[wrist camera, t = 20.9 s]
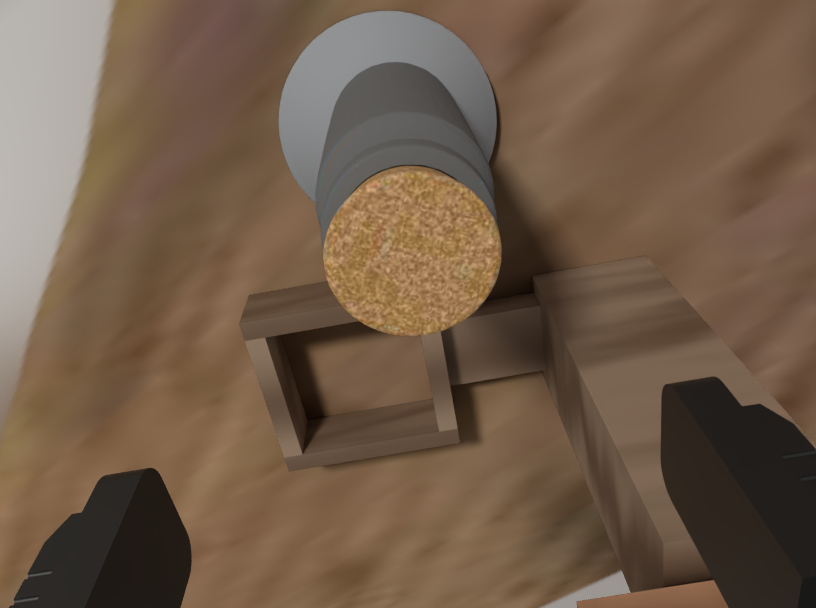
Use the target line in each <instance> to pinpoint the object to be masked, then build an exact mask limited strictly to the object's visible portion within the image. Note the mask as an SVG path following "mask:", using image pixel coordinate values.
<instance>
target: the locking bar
mask: <svg viewBox="0 0 816 608" xmlns="http://www.w3.org/2000/svg"><path fill="white" fill-rule="evenodd" d="M577 608H729V607H728V606H727V604H726V602H725V600H724V598H723V596H722V594H721V593H720V591H719V589H718V587H717V585H716V583H715V581H714V580H711V581H704V582H698V583H692V584H685V585H679V586H672V587H666V588H660V589H653V590H647V591H640V592H634V593H628V594H621V595H615V596H609V597H602V598H596V599H590V600H583V601H577Z"/></svg>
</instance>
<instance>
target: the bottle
mask: <svg viewBox="0 0 816 608" xmlns="http://www.w3.org/2000/svg"><path fill="white" fill-rule="evenodd" d="M494 195H495V194H494V184H493V178H492V173H491V169H490V167H489V164H488V162H487V159H486V157H485V155H484V153H483V151H482V149H481V147H480V145H479V143H478V141H477V139H476V138H475V136H474V134H473V132H472V130H471V129H470V127H469V125H468V123H467V122H466V120H465V118H464V116H463V115H462V113H461V111H460V109H459V108H458V106H457V104H456V102H455V101H454V99H453V97H452V96H451V94H450V93H449V91H448V90H447V88H446V87H445V86H444V85H443V83H442V82H441V81H440V80H439V79H438V78H437V77H435V76H434V75H433V74H431V73H430V72H429V71H427V70H425V69H423V68H421V67H418V66H415V65H412V64H409V63H404V62H385V63H382V64H378V65H374V66H371V67H369V68H367V69H365V70H363V71H362V72H360V73H359V74H357V75H356V76H355V77H354V78H353V79H352V80H351V81H350V82H349V83H348V84H347V85H346V86H345V87H344V89H343V90H342V92H341V93H340V95H339V97H338V99H337V101H336V103H335V106H334V109H333V112H332V116H331V120H330V124H329V128H328V132H327V136H326V140H325V144H324V149H323V153H322V158H321V163H320V167H319V172H318V177H317V184H316V191H315V197H316V211H317V216H318V221H319V224H320V227H321V239H322V246H323V249H324V252H323V260H324V267H325V274H326V278H327V281H328V284H329V286H330V288H331V290H332V292H333V294H334V295H335V297H336V299H337V300H338V301H339V303H340V304H341V305H342V306H343V308H344V309H345V310H346V311H347V312H348V313H350V314H351V315H352V316H353V317H354V318H356V319H357V320H359V321H360V322H362V323H363V324H365V325H367V326H369V327H371V328H373V329H375V330H378V331H381V332H384V333H387V334H392V335H399V336H422V335H428V334H433V333H437V332H440V331H443V330H446V329H449V328H451V327H452V326H454V325H456V324H458V323H460V322H462V321H463V320H465V319H466V318H467V317H469V316H470V315H471V314H473V313H474V312H475V311H476V310H477V309H478V308H479V307H480V306H481V305H482V303H483V302H484V301H485V300H486V298H487V297H488V295H489V294H490V292H491V291H492V289H493V287H494V285H495V283H496V280H497V278H498V275H499V271H500V266H501V254H502V244H501V237H500V233H499V229H498V226H497V225H498V220H497V214H496V207H495V204H494Z"/></svg>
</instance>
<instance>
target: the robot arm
mask: <svg viewBox="0 0 816 608" xmlns="http://www.w3.org/2000/svg"><path fill="white" fill-rule="evenodd" d="M661 469H662V475H663V479H664V483H665V486H666V489H667V492H668V494H669V497H670V499H671V501H672V503H673V505H674V507H675V509H676V511H677V512H678V514H679V516H680V518H681V520H682V522H683V524H684V525H685V527H686V529H687V531H688V533H689V535H690V537H691V538H692V540H693V542H694V544H695V546H696V548H697V550H698V552H699V553H700V555H701V557H702V559H703V561H704V563H705V565H706V566H707V568H708V570H709V572H710V574H711V576H712V578H713V580H714V581H715V583H716V585H717V587H718V589H719V591H720V593H721V594H722V596H723V598H724V600H725V602H726V604H727V606H728V607H729V608H816V449H815V447H814V446H813V445H812V444H811V443H810V442H809V441H808V440H807V438H806V437H805V436H804V435H803V434H802V433H801V432H800V430H799V429H798V428H797V427H796V426H795V425H794V424H793V423H792V422H790V421H789V420H787V419H785V418H784V417H782V416H780V415H778V414H777V413H775V412H773V411H772V410H770V409H768V408H767V407H765V406H763V405H762V404H754V405H748V406H741V404H740V403H739V402H738V401H737V399H736V398H735V397H734V396H733V394H732V393H731V392H730V391H729V389H728V388H727V387H726V386H725V384H724V383H723V382H722V381H721V380H720V379H719V378H718V377H715V376H712V377H706V378H700V379H694V380H688V381H682V382H676V383H670V384H666V385H664V387H663V389H662V396H661ZM191 557H192V556H191V545H190V540H189V537H188V534H187V532H186V529H185V527H184V525H183V523H182V521H181V519H180V516H179V514H178V512H177V510H176V508H175V506H174V503H173V501H172V499H171V497H170V495H169V493H168V490H167V488H166V486H165V484H164V482H163V480H162V478H161V476H160V474H159V473H158V471H156V470H155V469H153V468H146V469H140V470H134V471H128V472H122V473H116V474H110V475H105V476H103V477H102V478H100V480H99V481H98V482H97V484H96V486H95V488H94V490H93V492H92V494H91V496H90V498H89V500H88V502H87V504H86V506H85V507H84V509H83V511H82V513H76V514H72V515H71V516H70V517H69V518H68V519H67V520H66V521H65V522H64V523H63V524H62V525H61V526H60V527H59V528H58V529H57V530H56V531H55V532H54V533H53V534H52V535H51V536H50V538H49V539H48V540H47V541H46V542H45V543H44V545H43V546H42V548H41V550H40V552H39V554H38V556H37V557H36V559H35V561H34V563H33V565H32V567H31V569H30V570H29V572H28V579H25V580H24V581H23V583H22V585H21V587H20V589H19V591H18V592H17V594H16V596H15V598H14V605H13V606H10V607H9V608H180V607H181V604H182V600H183V597H184V593H185V590H186V586H187V583H188V579H189V576H190V571H191Z"/></svg>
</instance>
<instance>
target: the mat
mask: <svg viewBox="0 0 816 608" xmlns="http://www.w3.org/2000/svg"><path fill="white" fill-rule="evenodd" d="M385 62H404V63H409V64H412V65H415V66H418V67H421V68H423V69H425V70H427V71H429V72H430V73H431V74H433V75H434V76H435V77H437V78H438V79H439V80H440V81H441V82H442V83H443V85H444V86H445V87H446V88H447V90H448V91H449V93H450V94H451V96H452V97H453V99H454V101H455V102H456V104H457V106H458V108H459V109H460V111H461V113H462V115H463V116H464V118H465V120H466V122H467V123H468V125H469V127H470V129H471V130H472V132H473V134H474V136H475V138H476V139H477V141H478V143H479V145H480V147H481V149H482V151H483V153H484V155H485V157H486V159H487V162H488V164H489V161H490V158H491V155H492V152H493V148H494V143H495V139H496V128H497V116H496V106H495V100H494V95H493V91H492V88H491V85H490V82H489V80H488V77H487V75H486V73H485V71H484V69H483V67H482V66H481V64H480V62H479V61H478V59H477V58H476V56H475V55H474V54H473V53H472V51H471V50H470V49H469V48H468V47H467V46H466V44H465V43H464V42H463V41H461V40H460V39H459V38H458V37H457V36H456V35H455V34H454V33H452V32H451V31H449V30H448V29H446V28H445V27H443V26H442V25H440V24H438V23H436V22H434V21H432V20H430V19H428V18H426V17H422V16H419V15H416V14H413V13H408V12H402V11H386V10H381V11H373V12H366V13H362V14H358V15H355V16H352V17H349V18H347V19H345V20H342V21H340V22H338V23H336V24H335V25H333V26H331V27H330V28H328V29H326V30H325V31H324V32H322V33H321V34H320V35H319V36H318V37H316V38H315V39H314V40H313V41H312V42H311V43H310V44H309V45H308V46H307V48H306V49H305V50H304V51H303V52H302V54H301V55H300V57H299V58H298V60H297V61H296V62H295V64H294V66H293V68H292V70H291V72H290V74H289V76H288V78H287V80H286V83H285V86H284V89H283V92H282V97H281V102H280V109H279V133H280V140H281V145H282V150H283V153H284V156H285V159H286V162H287V164H288V166H289V168H290V170H291V172H292V174H293V176H294V178H295V179H296V181H297V182H298V184H299V185H300V187H301V188H302V189H303V191H304V192H305V193H306V194H307V195H308V196H309V198H310V199H312V200H313V201H314V202H315V203H316V197H315V191H316V184H317V177H318V172H319V167H320V163H321V158H322V153H323V149H324V144H325V140H326V136H327V132H328V128H329V124H330V120H331V116H332V112H333V109H334V106H335V103H336V101H337V99H338V97H339V95H340V93H341V92H342V90H343V89H344V87H345V86H346V85H347V84H348V83H349V82H350V81H351V80H352V79H353V78H354V77H355V76H356V75H357V74H359V73H360V72H362V71H363V70H365V69H367V68H369V67H371V66H374V65H378V64H382V63H385Z"/></svg>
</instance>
